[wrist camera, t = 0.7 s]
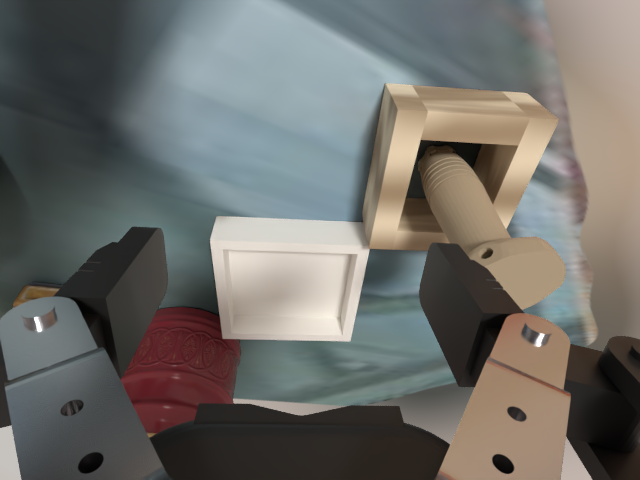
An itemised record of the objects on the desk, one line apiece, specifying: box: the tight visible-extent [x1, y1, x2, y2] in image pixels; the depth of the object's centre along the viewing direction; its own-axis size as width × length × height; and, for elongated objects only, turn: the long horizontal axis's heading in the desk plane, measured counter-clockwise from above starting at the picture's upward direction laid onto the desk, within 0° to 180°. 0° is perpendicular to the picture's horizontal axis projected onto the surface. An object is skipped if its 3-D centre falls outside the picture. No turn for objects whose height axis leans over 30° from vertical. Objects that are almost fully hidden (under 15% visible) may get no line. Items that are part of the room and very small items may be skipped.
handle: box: [418, 145, 566, 310], centre depth 28 cm, size 5×6×15 cm
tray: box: [210, 216, 370, 341], centre depth 40 cm, size 14×14×4 cm
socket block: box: [362, 83, 559, 251], centre depth 32 cm, size 12×11×5 cm
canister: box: [120, 307, 241, 438], centre depth 42 cm, size 13×13×18 cm
